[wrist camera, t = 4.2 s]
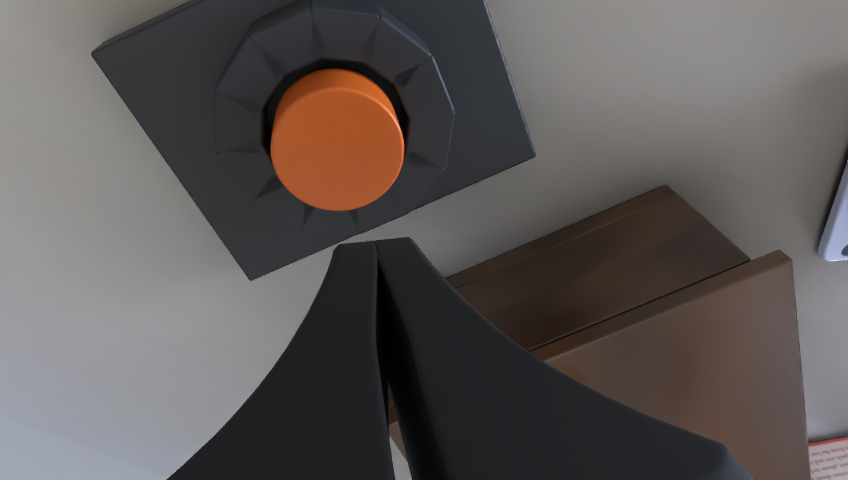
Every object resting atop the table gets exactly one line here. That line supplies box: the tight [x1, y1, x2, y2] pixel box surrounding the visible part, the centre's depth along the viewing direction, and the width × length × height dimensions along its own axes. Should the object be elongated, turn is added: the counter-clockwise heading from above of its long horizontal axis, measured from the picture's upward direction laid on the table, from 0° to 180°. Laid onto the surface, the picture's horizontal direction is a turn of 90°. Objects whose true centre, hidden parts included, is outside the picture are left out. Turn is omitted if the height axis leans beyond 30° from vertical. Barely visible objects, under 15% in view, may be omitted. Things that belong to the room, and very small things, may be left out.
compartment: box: [388, 185, 751, 410], centre depth 24 cm, size 12×13×5 cm
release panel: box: [91, 0, 536, 281], centre depth 17 cm, size 10×8×3 cm
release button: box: [271, 68, 404, 211], centre depth 16 cm, size 3×3×2 cm
